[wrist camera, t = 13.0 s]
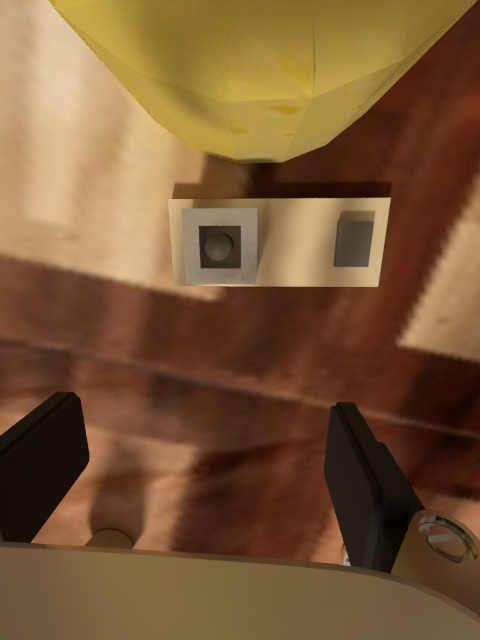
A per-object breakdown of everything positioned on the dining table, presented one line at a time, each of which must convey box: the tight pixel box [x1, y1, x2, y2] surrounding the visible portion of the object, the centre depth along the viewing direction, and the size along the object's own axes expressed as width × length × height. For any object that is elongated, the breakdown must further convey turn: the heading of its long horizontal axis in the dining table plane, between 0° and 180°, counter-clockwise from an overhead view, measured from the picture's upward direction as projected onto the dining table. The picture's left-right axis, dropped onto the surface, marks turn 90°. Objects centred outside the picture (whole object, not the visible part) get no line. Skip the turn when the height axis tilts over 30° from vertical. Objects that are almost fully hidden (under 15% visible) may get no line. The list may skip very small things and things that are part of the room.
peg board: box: [168, 198, 391, 287], centre depth 25 cm, size 20×8×6 cm, turn 90°
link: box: [181, 208, 257, 284], centre depth 25 cm, size 6×6×4 cm
